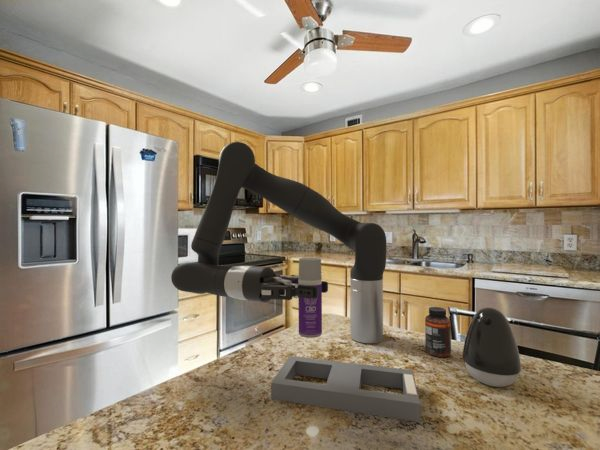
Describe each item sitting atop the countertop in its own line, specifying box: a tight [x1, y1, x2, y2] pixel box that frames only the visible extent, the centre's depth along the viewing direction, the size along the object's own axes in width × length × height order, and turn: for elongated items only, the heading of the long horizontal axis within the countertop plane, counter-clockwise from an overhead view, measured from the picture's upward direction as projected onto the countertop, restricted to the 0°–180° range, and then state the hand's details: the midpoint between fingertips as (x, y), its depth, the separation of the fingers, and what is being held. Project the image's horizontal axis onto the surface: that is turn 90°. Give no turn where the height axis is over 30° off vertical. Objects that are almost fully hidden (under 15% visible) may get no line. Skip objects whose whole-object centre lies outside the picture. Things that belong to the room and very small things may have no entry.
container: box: [298, 257, 323, 339], centre depth 60 cm, size 5×5×15 cm
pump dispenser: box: [462, 306, 522, 388], centre depth 62 cm, size 10×10×15 cm
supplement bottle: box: [424, 306, 452, 358], centre depth 76 cm, size 6×6×11 cm
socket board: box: [270, 355, 421, 423], centre depth 58 cm, size 12×26×3 cm, turn 75°
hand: (322, 289), depth 59 cm, fingers closed on container, 4 cm apart
